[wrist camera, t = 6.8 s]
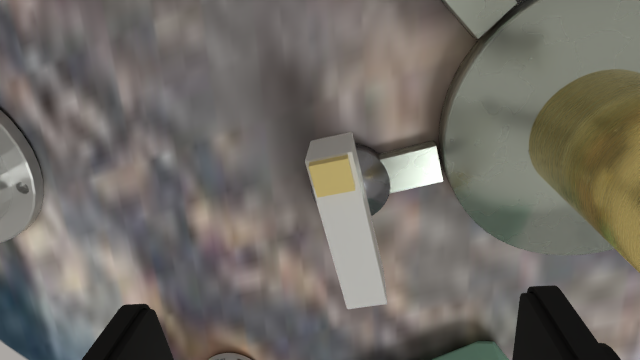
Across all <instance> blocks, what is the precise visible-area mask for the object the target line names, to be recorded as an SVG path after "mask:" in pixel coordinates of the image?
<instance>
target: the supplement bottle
mask: <svg viewBox="0 0 640 360" xmlns="http://www.w3.org/2000/svg"><path fill="white" fill-rule="evenodd" d="M209 360H251V359H249V358H248V357H245V356H243V355H240V354H236V353H222V354H218V355H215V356H213V357H211V358H210V359H209Z"/></svg>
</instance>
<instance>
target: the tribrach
mask: <svg viewBox="0 0 640 360" xmlns="http://www.w3.org/2000/svg"><path fill="white" fill-rule="evenodd" d="M441 1H442V2H443V3H444V4H445V5H446V7H447V8H448V9H449V10H450V11H451V12H452V14H453V15H454V16H455V17H456V18H457V19H458V20H459V22H460V23H461V24H462V25H463V26H464V27H465V29H466V30H467V31H468V32H469V33H470V34H471V35H472V37H474V38H477V39H479V38H480V37H481V36H482V35H483V34H484V33H485V32H486V31H487V32H486V33H485V34H484V35H483V36H482V37H481V38H480V39H479V40H478V41H477V43H476V44H475V45H474V46H473V48H472V49H471V50H470V52H469V53H468V54H467V55H466V57H465V59H464V60H463V62H462V64H461V65H460V67H459V69H458V70H457V72H456V74H455V76H454V78H453V80H452V82H451V85H450V87H449V89H448V91H447V95H446V98H445V101H444V104H443V108H442V113H441V119H440V125H439V146H440V155H441V160H442V163H443V167H444V171H445V173H446V176H447V178H448V180H449V182H450V185H451V187H452V188H453V190H454V192H455V194H456V196H457V198H458V200H459V201H460V203H461V205H462V206H463V208H464V209H465V211H466V212H467V213H468V214H469V216H470V217H471V218H472V219H473V220H474V221H475V222H476V223H477V224H478V225H479V226H480V227H482V228H483V229H484V230H485V231H486V232H488V233H489V234H491V235H493V236H494V237H496V238H497V239H499V240H501V241H503V242H505V243H507V244H510V245H512V246H514V247H517V248H521V249H524V250H527V251H531V252H536V253H542V254H550V255H583V254H591V253H598V252H603V251H607V250H612V249H616V250H617V251H618V252H619V253H620V254H621V255H622V256H623V257H624V258H625V259H626V260H627V261H628V262H629V263H630V264H631V265H632V266H633V267H634V268H635V269H636V270H637V271H638V272H639V273H640V0H525V1H524V2H522V3H521V4H519V5H518V6H516V7H515V8H513V9H511V8H512V7H513V6H515V5H516V4H517V2H516V0H441ZM510 9H511V10H510ZM509 10H510V11H509ZM508 11H509V12H508ZM507 12H508V13H507ZM506 13H507V14H506ZM500 18H501V19H500ZM355 147H356V151H357V156H358V160H359V164H360V169H361V173H362V178H363V182H364V187H365V191H366V195H367V200H368V204H369V209H370V213H371V216H372V215H374V214H375V213H376V212H378V211H379V210H380V209H381V208H382V207H383V205H384V204H385V202H386V201H387V199H388V196H389V193H393V192H398V191H402V190H407V189H411V188H416V187H420V186H424V185H429V184H433V183H438V182H442V181H443V178H442V173H441V168H440V162H439V157H438V152H437V147H436V145H435V143H434V141H430V142H426V143H421V144H417V145H413V146H409V147H405V148H401V149H397V150H393V151H389V152H385V153H381V154H378V153H377V152H375V151H374V150H372V149H371V148H369V147H367V146H364V145H361V144H356V143H355ZM311 191H312V195H313V198H314V200H315V202H316V199H315V195H314V192H313V188H312V185H311ZM316 203H317V202H316Z"/></svg>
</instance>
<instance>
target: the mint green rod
mask: <svg viewBox="0 0 640 360" xmlns="http://www.w3.org/2000/svg"><path fill="white" fill-rule="evenodd" d="M431 360H509V359H508V358H507V357H506V356H505V354H504V353H503V352H502V351H501V350H500V348H499V347H498V346H497V345H496V343H495V342H493V341H477V342H474V343H472V344H469V345H467V346H464V347H462V348H459V349H456V350H454V351H451V352H449V353H446V354H444V355H441V356H439V357H436V358H434V359H431Z"/></svg>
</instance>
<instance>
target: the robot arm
mask: <svg viewBox="0 0 640 360" xmlns="http://www.w3.org/2000/svg"><path fill="white" fill-rule="evenodd" d="M43 197H44V190H43V179H42V174H41V170H40V166H39V164H38V162H37V159H36V157H35V155H34V152H33V150H32V148H31V147H30V145H29V144H28V142H27V140H26V139H25V137H24V136H23V134H22V133H21V132H20V130H19V129H18V128H17V127H16V126H15V125H14V123H13V122H12V121H11V120H10V119H9V117H7V116H6V115H5V114H4V113H3V112H2V111H1V110H0V243H3V242H5V241H7V240H10V239H12V238H14V237H16V236H17V235H18V234H20V233H21V232H23V231H24V230H26V229H27V228H28V227H29V226H30V225H31V224H32V223H33V222H34V221H35V220H36V218H37V216H38V214H39V212H40V210H41V207H42V202H43ZM82 360H174V359H173V356H172V354H171V351H170V348H169V346H168V343H167V341H166V338H165V336H164V333H163V330H162V328H161V325H160V323H159V320H158V317H157V315H156V312H155V311H154V310H153V309H150V307H149V306H148V305H147V304H132V305H124V306H122V307H121V308H120V309H119V310H118V311H117V313H116V314H115V315H114V317H113V318H112V319H111V321H110V322H109V324H108V325H107V326H106V328H105V329H104V330H103V332H102V333H101V334H100V336H99V337H98V338H97V340H96V341H95V343H94V344H93V345H92V347H91V348H90V349H89V351H88V352H87V353H86V355H85V356H84V357H83V359H82ZM513 360H621V359H620V358H619V357H618V355H617V354H616V353H615V352H614V351H613V349H612V348H611V347H609V346H608V345H606V344H604V343H598V342H597V340H596V339H595V338H594V336H593V335H592V333H591V332H590V331H589V329H588V328H587V326H586V325H585V324H584V322H583V321H582V319H581V318H580V317H579V315H578V314H577V312H576V311H575V310H574V308H573V307H572V305H571V304H570V303H569V301H568V300H567V298H566V297H565V296H564V294H563V293H562V291H561V290H560V289H559V288H558V287H557V286H534V287H529V288H528V291H527V293H522V294H521V296H520V302H519V310H518V318H517V327H516V335H515V343H514V351H513Z"/></svg>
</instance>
